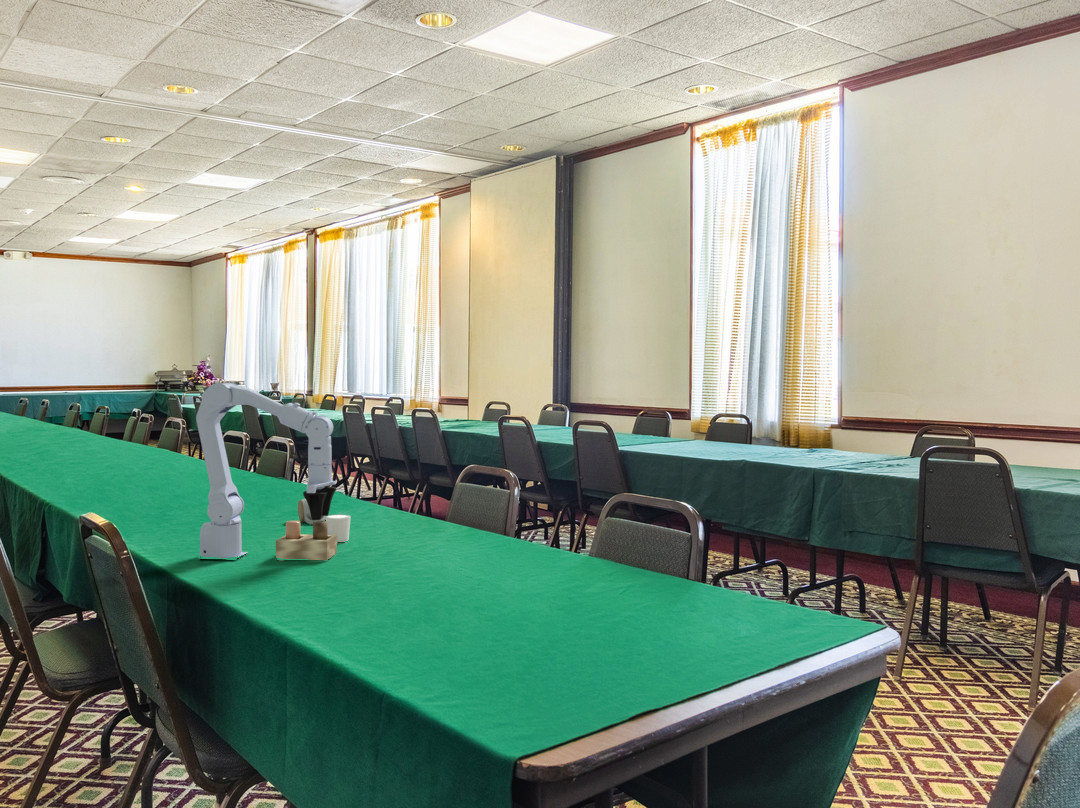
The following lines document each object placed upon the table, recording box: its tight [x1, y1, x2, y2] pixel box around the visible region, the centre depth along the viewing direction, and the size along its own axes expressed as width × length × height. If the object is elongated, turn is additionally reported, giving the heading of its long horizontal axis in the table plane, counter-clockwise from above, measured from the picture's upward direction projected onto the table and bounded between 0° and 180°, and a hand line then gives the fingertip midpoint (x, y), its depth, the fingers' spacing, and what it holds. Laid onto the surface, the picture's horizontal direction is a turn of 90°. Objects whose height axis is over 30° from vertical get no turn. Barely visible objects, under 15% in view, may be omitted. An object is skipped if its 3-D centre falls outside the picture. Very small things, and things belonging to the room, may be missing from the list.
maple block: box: [275, 533, 338, 561], centre depth 215 cm, size 13×8×5 cm, turn 87°
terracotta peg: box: [285, 520, 302, 539], centre depth 215 cm, size 4×4×5 cm
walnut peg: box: [312, 521, 328, 540], centre depth 215 cm, size 4×4×5 cm
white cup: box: [325, 513, 351, 543], centre depth 235 cm, size 7×7×7 cm
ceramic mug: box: [297, 498, 326, 525], centre depth 263 cm, size 11×8×8 cm
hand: (320, 517), depth 214 cm, fingers open, 5 cm apart
